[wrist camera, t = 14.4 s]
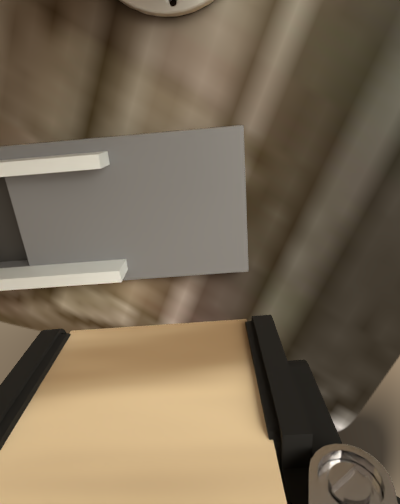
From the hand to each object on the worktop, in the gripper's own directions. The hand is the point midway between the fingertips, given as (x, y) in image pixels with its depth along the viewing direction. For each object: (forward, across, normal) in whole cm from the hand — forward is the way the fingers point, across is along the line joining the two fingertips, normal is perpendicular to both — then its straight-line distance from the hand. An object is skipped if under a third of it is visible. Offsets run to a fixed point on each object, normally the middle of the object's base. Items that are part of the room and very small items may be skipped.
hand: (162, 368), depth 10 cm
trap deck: (+21, +8, 0) cm, 23 cm away
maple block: (0, 0, +1) cm, 1 cm away
